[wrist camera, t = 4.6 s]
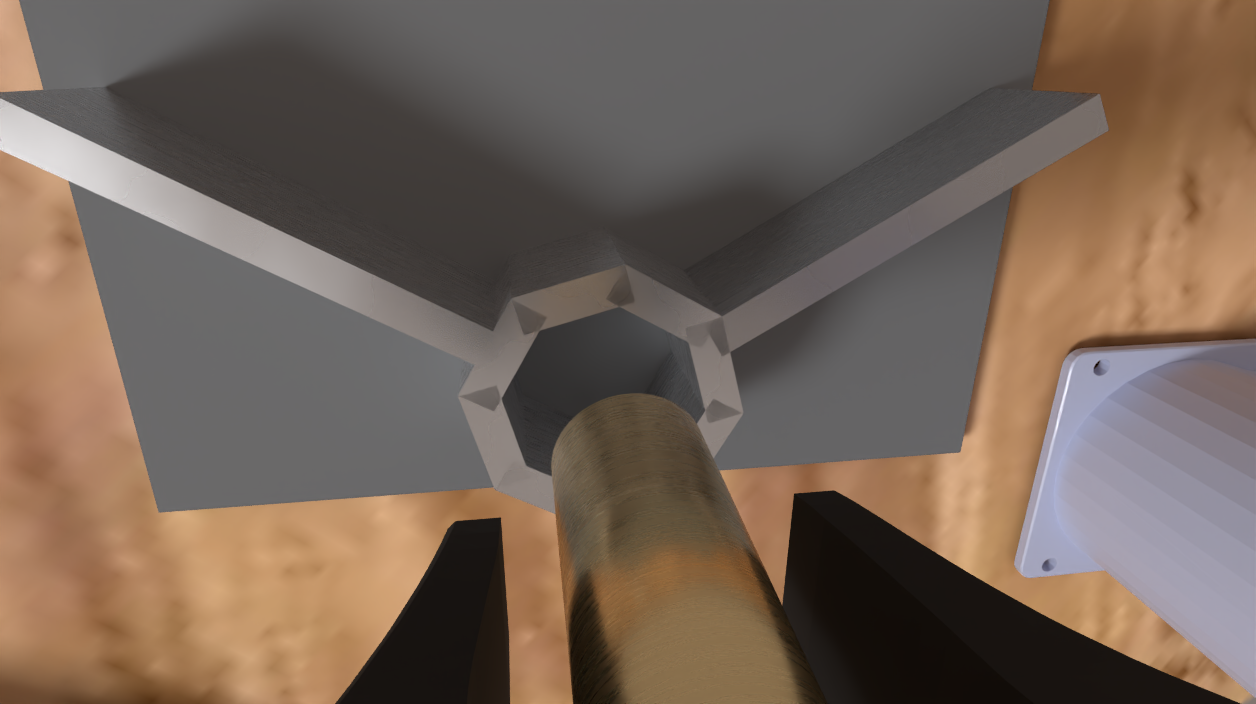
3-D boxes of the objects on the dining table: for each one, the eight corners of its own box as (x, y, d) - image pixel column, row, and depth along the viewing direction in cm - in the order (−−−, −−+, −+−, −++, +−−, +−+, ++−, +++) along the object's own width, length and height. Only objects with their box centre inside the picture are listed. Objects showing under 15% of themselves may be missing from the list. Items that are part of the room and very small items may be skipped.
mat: (1114, -429, 15) (1138, -448, 14) (948, 442, 22) (960, 452, 22) (-114, -569, 12) (-145, -602, 11) (169, 499, 19) (158, 512, 18)
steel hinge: (1008, 103, 18) (1122, 111, 15) (726, 514, 21) (766, 598, 18) (290, -444, 12) (210, -628, 9) (57, 223, 16) (-65, 266, 12)
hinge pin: (768, 335, 12) (1172, 825, 5) (745, 556, 13) (1008, 1150, 6) (486, 348, 11) (446, 938, 4) (502, 577, 13) (495, 1262, 6)
